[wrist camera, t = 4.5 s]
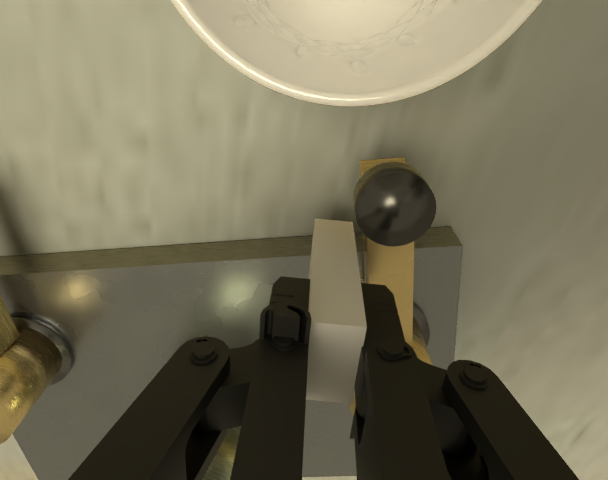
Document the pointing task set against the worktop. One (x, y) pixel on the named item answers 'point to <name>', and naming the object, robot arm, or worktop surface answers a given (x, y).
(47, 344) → the lever
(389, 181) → the lever
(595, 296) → the worktop surface
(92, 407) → the base
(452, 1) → the white cup
